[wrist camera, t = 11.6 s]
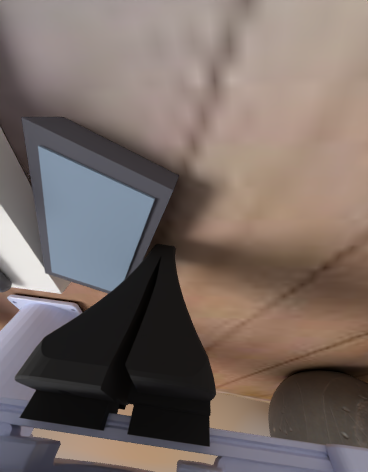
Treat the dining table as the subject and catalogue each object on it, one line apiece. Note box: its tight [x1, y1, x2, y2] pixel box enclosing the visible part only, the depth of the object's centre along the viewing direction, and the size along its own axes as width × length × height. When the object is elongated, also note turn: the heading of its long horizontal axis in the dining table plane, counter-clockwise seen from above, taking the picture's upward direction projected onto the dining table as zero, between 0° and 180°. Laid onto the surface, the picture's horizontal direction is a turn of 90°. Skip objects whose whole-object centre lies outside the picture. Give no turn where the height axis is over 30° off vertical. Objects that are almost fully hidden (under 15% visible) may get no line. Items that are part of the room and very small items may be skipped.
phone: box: [21, 117, 179, 293], centre depth 10 cm, size 10×6×3 cm, turn 155°
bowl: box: [269, 371, 368, 449], centre depth 21 cm, size 18×18×13 cm
